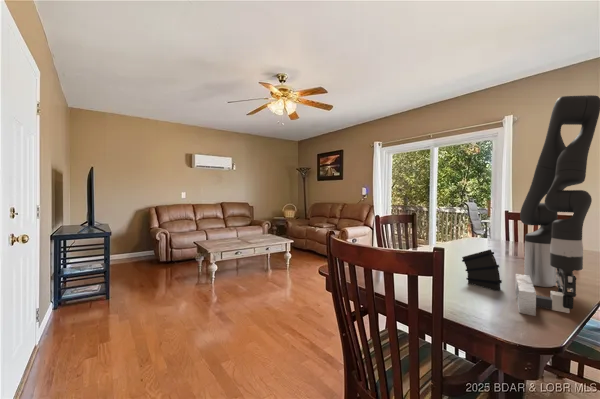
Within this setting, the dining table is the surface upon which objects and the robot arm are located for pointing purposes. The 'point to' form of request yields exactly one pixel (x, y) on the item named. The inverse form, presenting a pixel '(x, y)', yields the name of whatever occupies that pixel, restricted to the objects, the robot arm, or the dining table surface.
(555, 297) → the plug
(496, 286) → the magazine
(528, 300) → the housing
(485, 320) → the dining table surface
